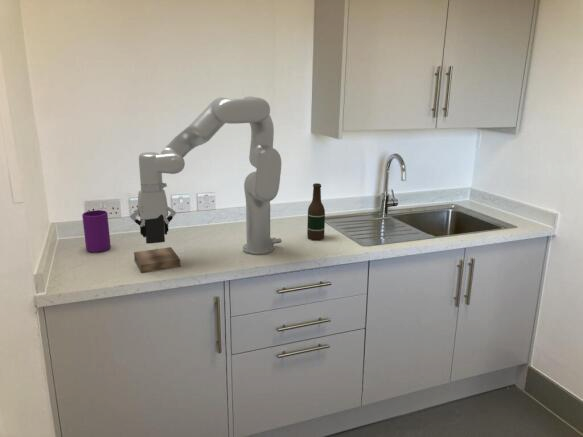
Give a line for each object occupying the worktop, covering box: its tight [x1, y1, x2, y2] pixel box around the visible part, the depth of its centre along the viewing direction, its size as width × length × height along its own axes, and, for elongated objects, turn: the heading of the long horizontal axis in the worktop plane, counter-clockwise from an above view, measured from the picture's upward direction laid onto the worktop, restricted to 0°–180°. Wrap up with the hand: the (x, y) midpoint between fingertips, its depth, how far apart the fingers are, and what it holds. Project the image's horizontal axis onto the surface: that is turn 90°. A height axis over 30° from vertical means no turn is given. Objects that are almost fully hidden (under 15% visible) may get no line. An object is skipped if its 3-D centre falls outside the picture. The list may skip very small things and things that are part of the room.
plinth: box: [133, 246, 181, 274], centre depth 183 cm, size 14×14×3 cm
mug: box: [81, 209, 111, 253], centre depth 198 cm, size 9×16×15 cm, turn 26°
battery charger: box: [144, 214, 166, 244], centre depth 179 cm, size 7×4×11 cm, turn 109°
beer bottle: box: [306, 182, 326, 242], centre depth 210 cm, size 8×8×24 cm
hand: (154, 234), depth 180 cm, fingers closed on battery charger, 7 cm apart
